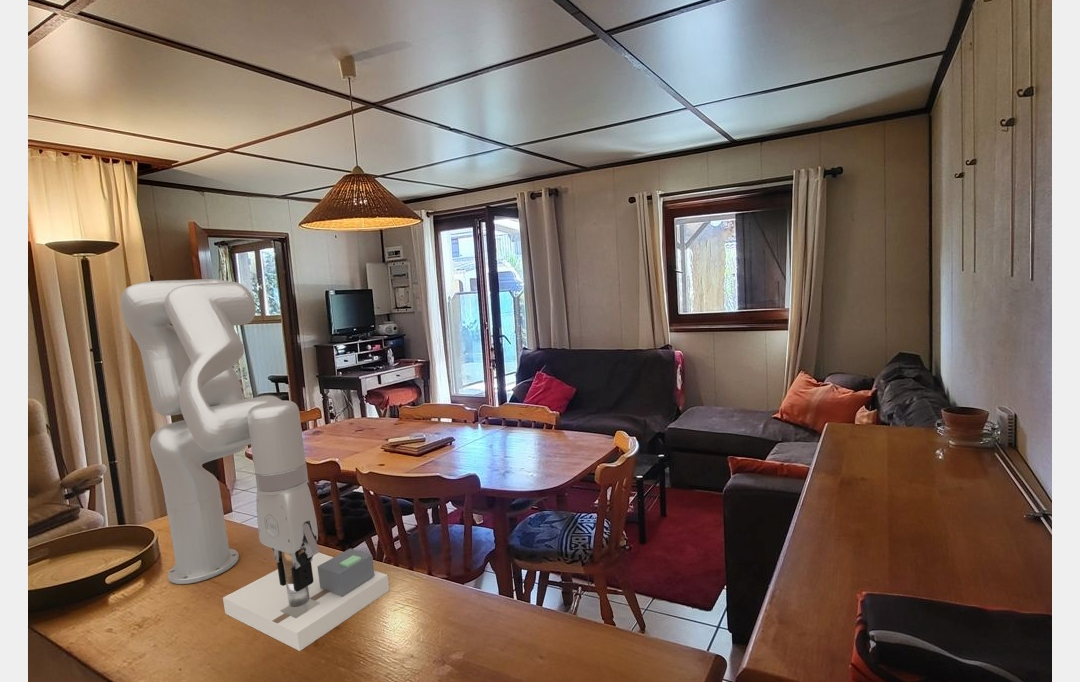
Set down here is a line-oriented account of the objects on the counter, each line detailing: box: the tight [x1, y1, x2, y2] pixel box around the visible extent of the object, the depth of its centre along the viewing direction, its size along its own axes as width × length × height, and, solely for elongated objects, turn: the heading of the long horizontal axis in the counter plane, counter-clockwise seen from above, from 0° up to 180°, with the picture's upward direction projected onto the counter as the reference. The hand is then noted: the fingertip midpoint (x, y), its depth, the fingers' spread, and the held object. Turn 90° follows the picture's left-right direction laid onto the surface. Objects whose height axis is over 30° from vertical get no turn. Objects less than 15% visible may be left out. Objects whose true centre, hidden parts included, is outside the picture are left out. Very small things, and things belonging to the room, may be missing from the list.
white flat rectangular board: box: [222, 552, 390, 652], centre depth 96 cm, size 22×18×3 cm
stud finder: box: [317, 547, 375, 596], centre depth 96 cm, size 6×7×4 cm
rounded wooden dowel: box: [281, 549, 310, 607], centre depth 89 cm, size 3×3×10 cm
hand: (296, 583), depth 89 cm, fingers closed on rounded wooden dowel, 3 cm apart
